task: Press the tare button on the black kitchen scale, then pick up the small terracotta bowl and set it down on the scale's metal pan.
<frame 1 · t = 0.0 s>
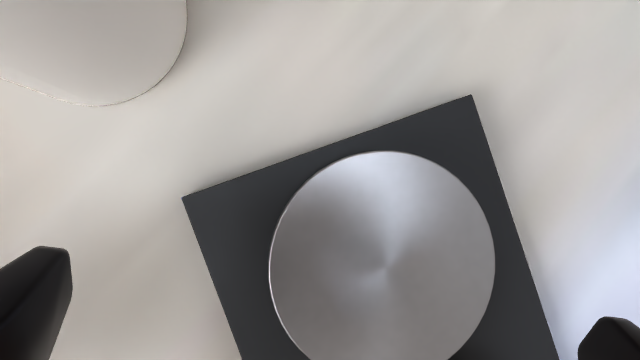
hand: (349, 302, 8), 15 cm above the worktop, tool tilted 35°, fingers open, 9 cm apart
scale pan: (387, 320, 20), on the scale, point 3 cm above the worktop
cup: (93, 15, 22), on the worktop
scale: (382, 300, 24), on the worktop
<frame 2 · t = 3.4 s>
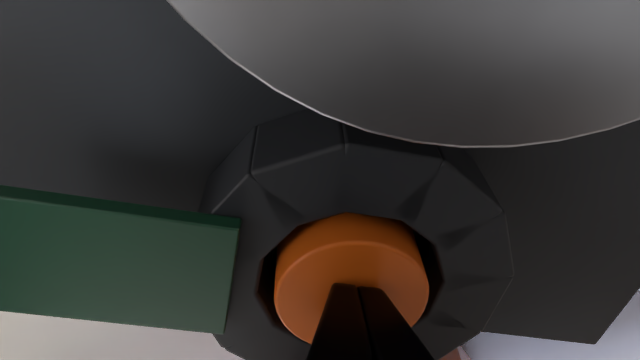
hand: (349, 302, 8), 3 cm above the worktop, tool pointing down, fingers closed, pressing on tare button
tare button: (348, 269, 9), point 3 cm above the worktop, slide at -0.7 cm, touching gripper
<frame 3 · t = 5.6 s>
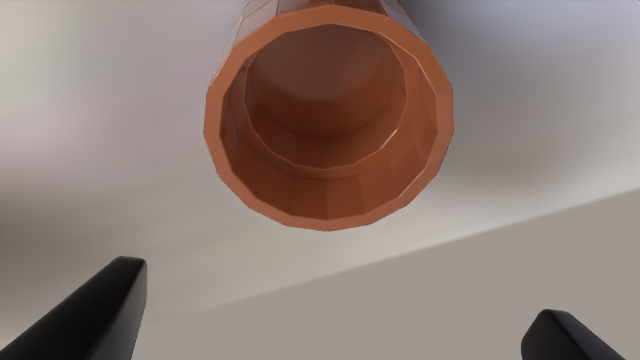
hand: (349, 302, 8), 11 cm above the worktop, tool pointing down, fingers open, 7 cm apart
bowl: (322, 68, 17), on the worktop
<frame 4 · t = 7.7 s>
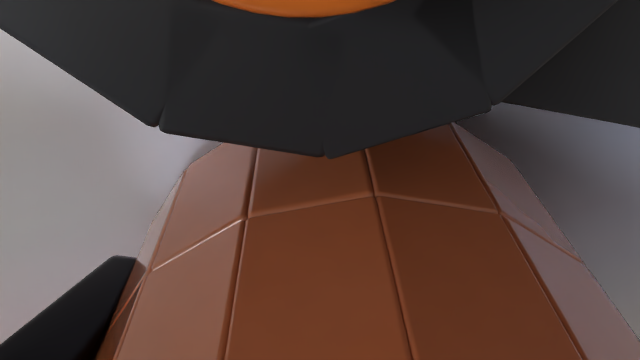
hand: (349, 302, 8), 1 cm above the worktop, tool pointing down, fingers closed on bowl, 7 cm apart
bowl: (343, 259, 9), on the worktop, touching gripper
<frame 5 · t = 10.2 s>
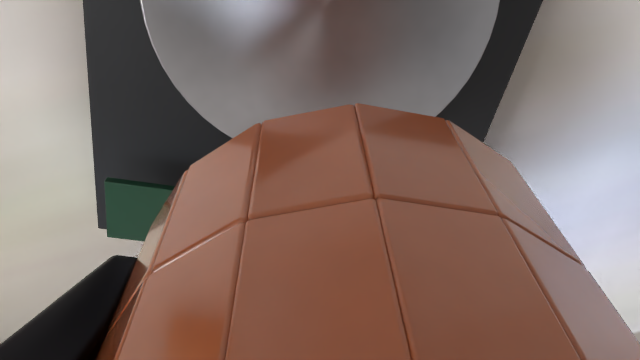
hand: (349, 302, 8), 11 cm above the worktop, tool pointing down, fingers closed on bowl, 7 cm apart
bowl: (343, 260, 9), point 10 cm above the worktop, touching gripper
scale pan: (287, 77, 14), on the scale, point 3 cm above the worktop
scale: (304, 54, 17), on the worktop
when the fingers open (5 cm above the worktop, at t = 12.5 s): bowl stays where it is, resting on scale pan.
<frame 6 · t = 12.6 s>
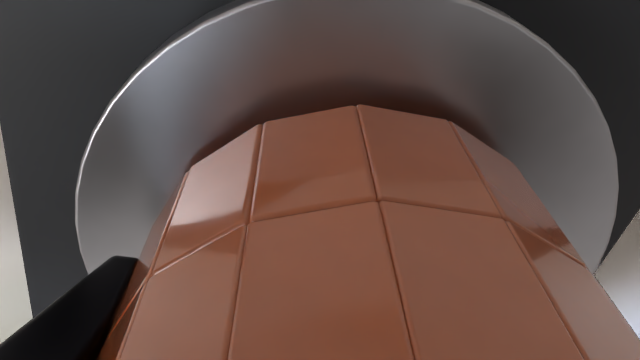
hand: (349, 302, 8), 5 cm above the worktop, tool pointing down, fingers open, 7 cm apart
bowl: (344, 262, 9), point 4 cm above the worktop, touching scale pan
scale pan: (295, 323, 10), on the scale, point 3 cm above the worktop
scale: (316, 237, 13), on the worktop
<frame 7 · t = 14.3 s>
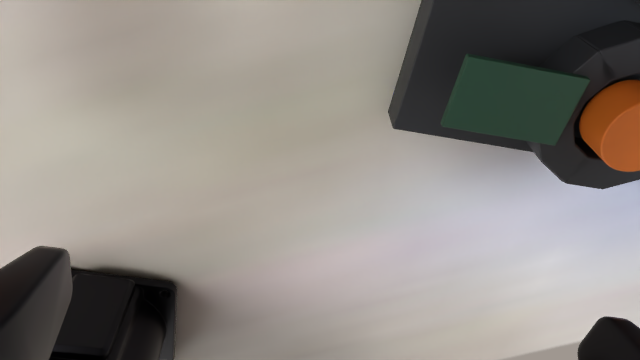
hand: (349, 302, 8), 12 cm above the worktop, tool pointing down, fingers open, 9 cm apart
tare button: (630, 126, 16), point 3 cm above the worktop, slide at 0.1 cm
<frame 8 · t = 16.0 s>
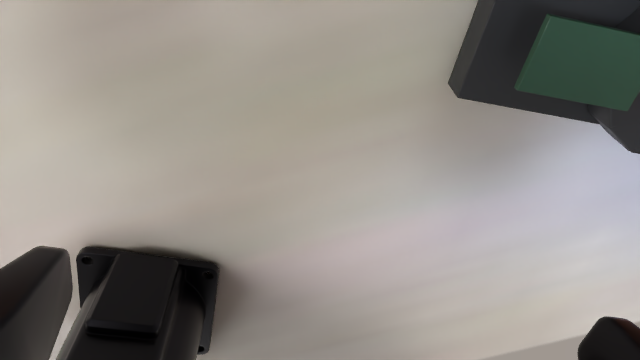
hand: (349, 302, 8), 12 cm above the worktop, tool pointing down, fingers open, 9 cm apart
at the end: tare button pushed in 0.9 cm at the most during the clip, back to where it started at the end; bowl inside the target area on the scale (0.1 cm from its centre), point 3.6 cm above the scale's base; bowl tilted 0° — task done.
